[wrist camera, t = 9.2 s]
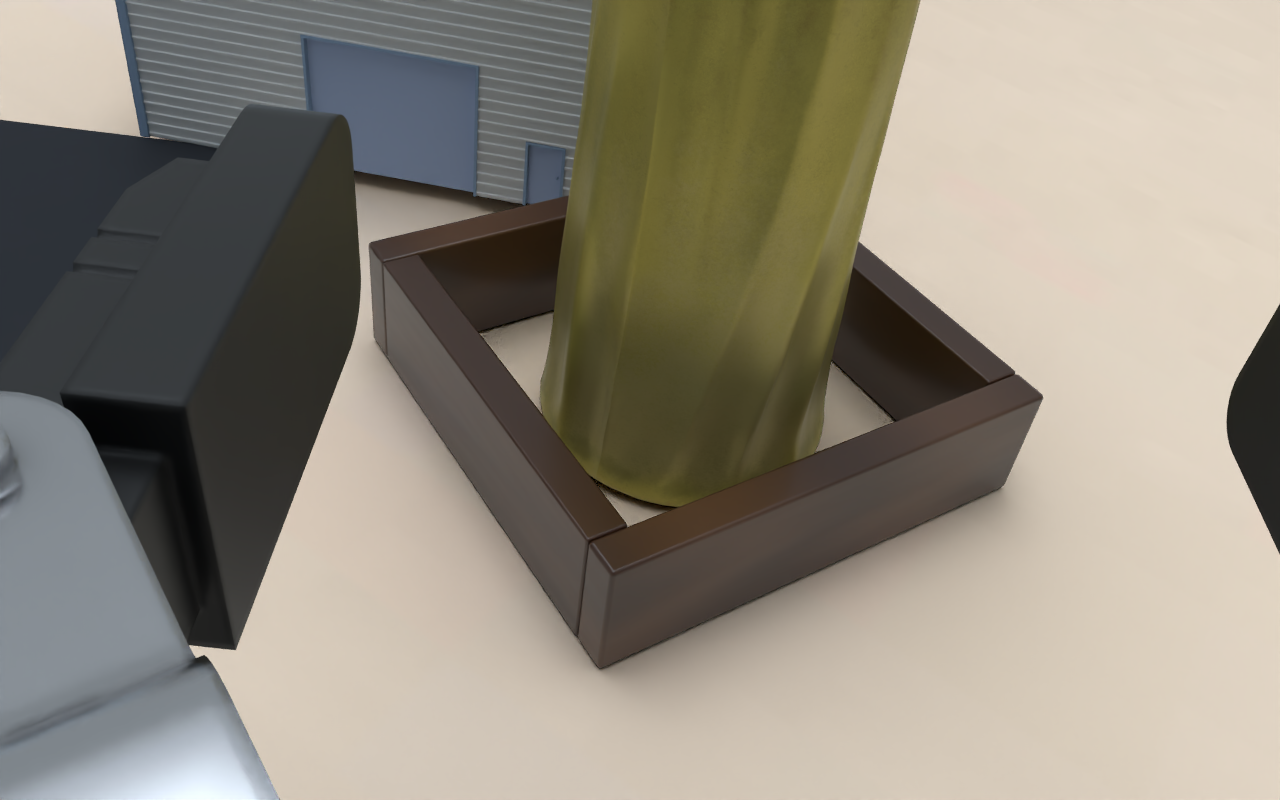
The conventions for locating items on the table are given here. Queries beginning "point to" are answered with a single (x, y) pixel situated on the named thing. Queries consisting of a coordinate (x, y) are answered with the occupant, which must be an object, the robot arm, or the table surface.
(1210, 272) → the table surface
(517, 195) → the warehouse
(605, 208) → the vase
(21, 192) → the mat
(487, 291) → the holder
